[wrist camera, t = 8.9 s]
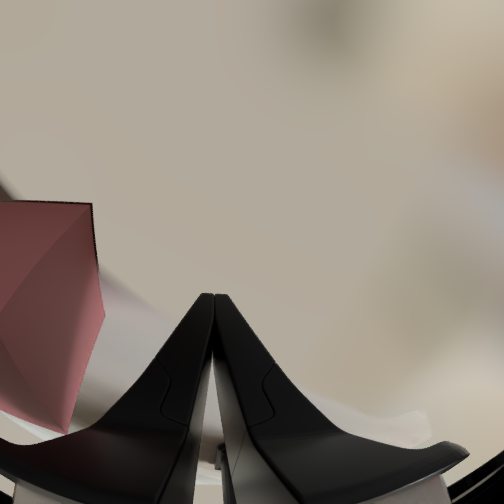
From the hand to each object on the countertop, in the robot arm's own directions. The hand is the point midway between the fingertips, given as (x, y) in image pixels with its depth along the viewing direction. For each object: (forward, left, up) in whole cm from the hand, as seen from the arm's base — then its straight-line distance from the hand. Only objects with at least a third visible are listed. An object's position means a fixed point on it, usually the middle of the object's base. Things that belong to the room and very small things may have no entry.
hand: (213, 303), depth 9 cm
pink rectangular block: (0, +13, -2) cm, 13 cm away
